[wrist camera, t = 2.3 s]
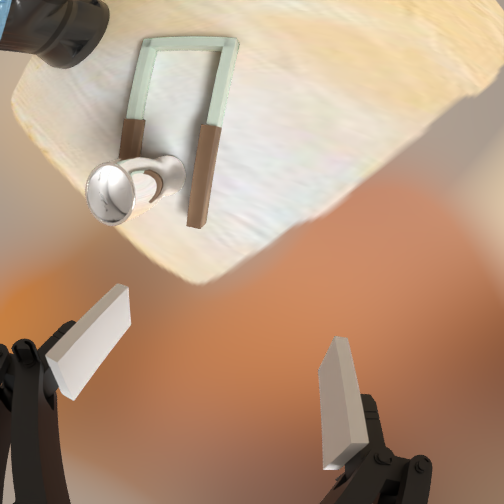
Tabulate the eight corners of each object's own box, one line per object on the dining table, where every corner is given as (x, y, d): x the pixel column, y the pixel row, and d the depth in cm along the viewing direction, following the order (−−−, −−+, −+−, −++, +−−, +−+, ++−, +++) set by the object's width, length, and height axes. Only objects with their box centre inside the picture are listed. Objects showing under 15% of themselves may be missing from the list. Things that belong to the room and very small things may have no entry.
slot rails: (125, 206, 40) (115, 211, 38) (134, 119, 35) (124, 118, 32) (206, 222, 40) (200, 228, 37) (221, 127, 34) (216, 126, 32)
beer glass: (167, 207, 40) (111, 241, 26) (138, 175, 38) (74, 194, 24) (198, 176, 37) (149, 195, 24) (167, 142, 36) (106, 145, 22)
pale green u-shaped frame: (134, 119, 35) (125, 119, 33) (151, 43, 30) (143, 38, 28) (221, 127, 34) (217, 126, 32) (239, 44, 29) (236, 38, 27)
